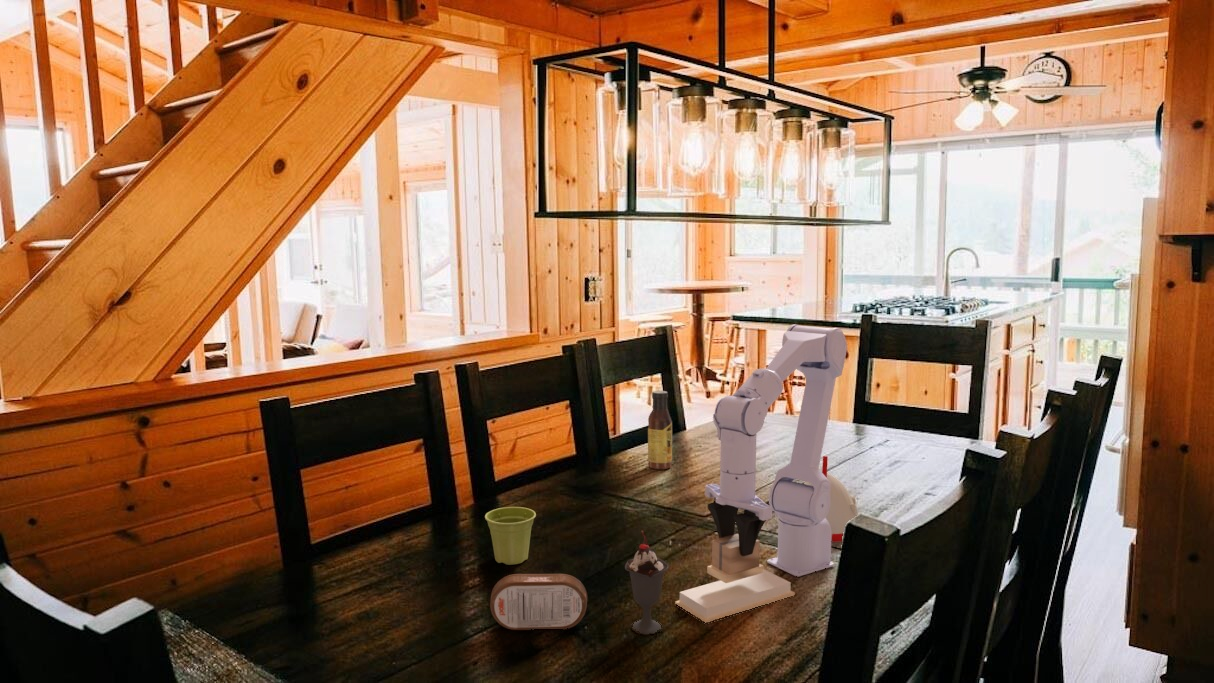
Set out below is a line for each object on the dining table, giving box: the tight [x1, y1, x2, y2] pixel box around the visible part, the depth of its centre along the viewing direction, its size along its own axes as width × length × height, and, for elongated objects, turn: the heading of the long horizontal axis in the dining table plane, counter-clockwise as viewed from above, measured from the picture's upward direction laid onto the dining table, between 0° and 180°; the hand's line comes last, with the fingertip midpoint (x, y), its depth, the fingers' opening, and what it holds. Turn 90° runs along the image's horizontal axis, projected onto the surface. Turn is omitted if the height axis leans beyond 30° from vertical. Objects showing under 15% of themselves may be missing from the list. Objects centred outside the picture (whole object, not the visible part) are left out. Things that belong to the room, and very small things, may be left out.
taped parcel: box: [706, 533, 765, 583], centre depth 137 cm, size 8×5×6 cm, turn 122°
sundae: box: [624, 530, 669, 634], centre depth 128 cm, size 7×7×15 cm
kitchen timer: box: [803, 455, 859, 543], centre depth 170 cm, size 14×14×15 cm
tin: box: [489, 573, 588, 631], centre depth 129 cm, size 15×3×8 cm, turn 92°
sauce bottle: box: [647, 390, 673, 470], centre depth 215 cm, size 6×6×20 cm
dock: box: [674, 568, 796, 624], centre depth 138 cm, size 8×19×2 cm, turn 122°
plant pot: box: [484, 506, 537, 566], centre depth 156 cm, size 9×9×9 cm
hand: (736, 549), depth 137 cm, fingers closed on taped parcel, 4 cm apart
